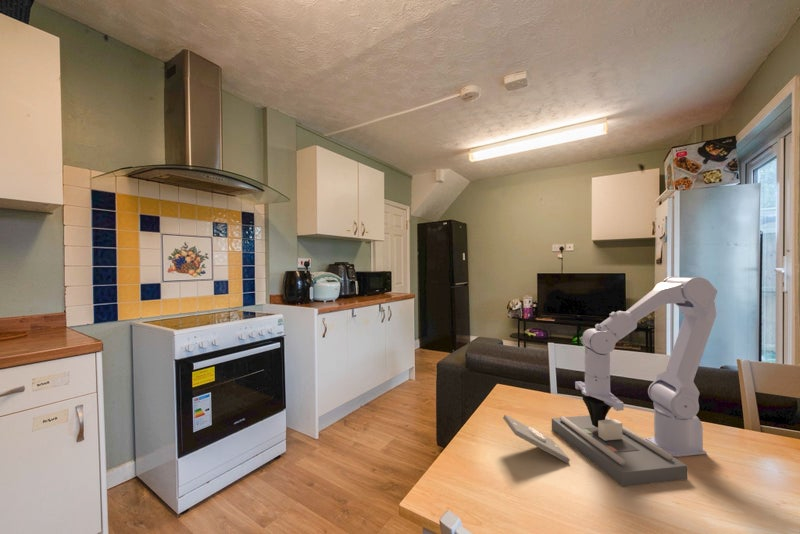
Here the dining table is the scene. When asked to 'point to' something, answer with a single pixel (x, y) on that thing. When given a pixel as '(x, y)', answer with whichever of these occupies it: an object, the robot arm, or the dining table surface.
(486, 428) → the dining table surface
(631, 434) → the pair of cream rails
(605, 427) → the lever
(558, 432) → the box
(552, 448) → the light switch
